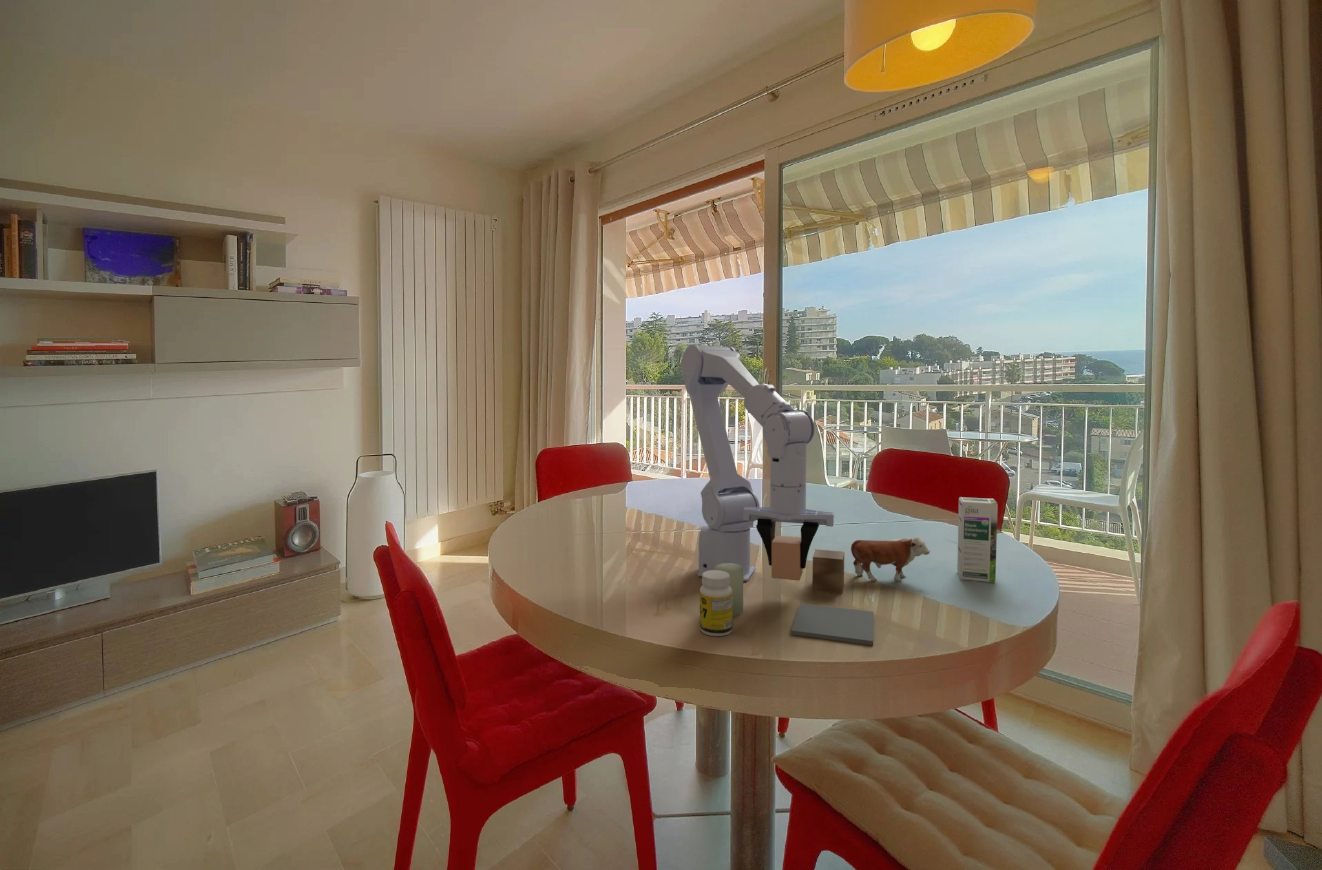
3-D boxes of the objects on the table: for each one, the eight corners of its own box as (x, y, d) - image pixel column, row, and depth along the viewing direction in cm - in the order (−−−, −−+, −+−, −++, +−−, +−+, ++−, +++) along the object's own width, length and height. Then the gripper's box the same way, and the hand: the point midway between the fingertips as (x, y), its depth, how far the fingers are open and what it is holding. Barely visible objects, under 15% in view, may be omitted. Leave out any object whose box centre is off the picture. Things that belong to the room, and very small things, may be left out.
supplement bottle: (697, 624, 87) (697, 569, 87) (728, 623, 88) (728, 568, 87) (702, 638, 82) (702, 580, 82) (735, 636, 83) (735, 578, 82)
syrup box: (959, 580, 105) (962, 501, 104) (956, 570, 111) (958, 495, 110) (995, 584, 103) (998, 503, 102) (990, 574, 109) (993, 497, 108)
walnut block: (812, 590, 101) (812, 556, 101) (815, 581, 106) (815, 549, 105) (842, 593, 99) (842, 559, 99) (843, 584, 104) (844, 551, 104)
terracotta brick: (771, 577, 96) (771, 542, 95) (775, 569, 100) (776, 535, 99) (799, 580, 94) (799, 544, 94) (802, 572, 98) (803, 537, 98)
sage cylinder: (712, 613, 91) (712, 570, 91) (719, 604, 95) (719, 562, 95) (739, 617, 90) (739, 573, 89) (745, 607, 94) (746, 564, 93)
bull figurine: (930, 585, 103) (932, 539, 103) (851, 581, 106) (852, 536, 105) (924, 577, 107) (925, 533, 107) (848, 573, 110) (849, 530, 109)
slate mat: (791, 634, 83) (791, 630, 83) (800, 607, 94) (800, 603, 94) (873, 645, 79) (873, 641, 79) (873, 615, 90) (873, 611, 90)
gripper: (739, 486, 94) (739, 568, 96) (832, 490, 89) (831, 577, 91) (748, 479, 101) (747, 556, 102) (835, 483, 96) (834, 564, 97)
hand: (787, 565), depth 97 cm, fingers closed on terracotta brick, 4 cm apart
